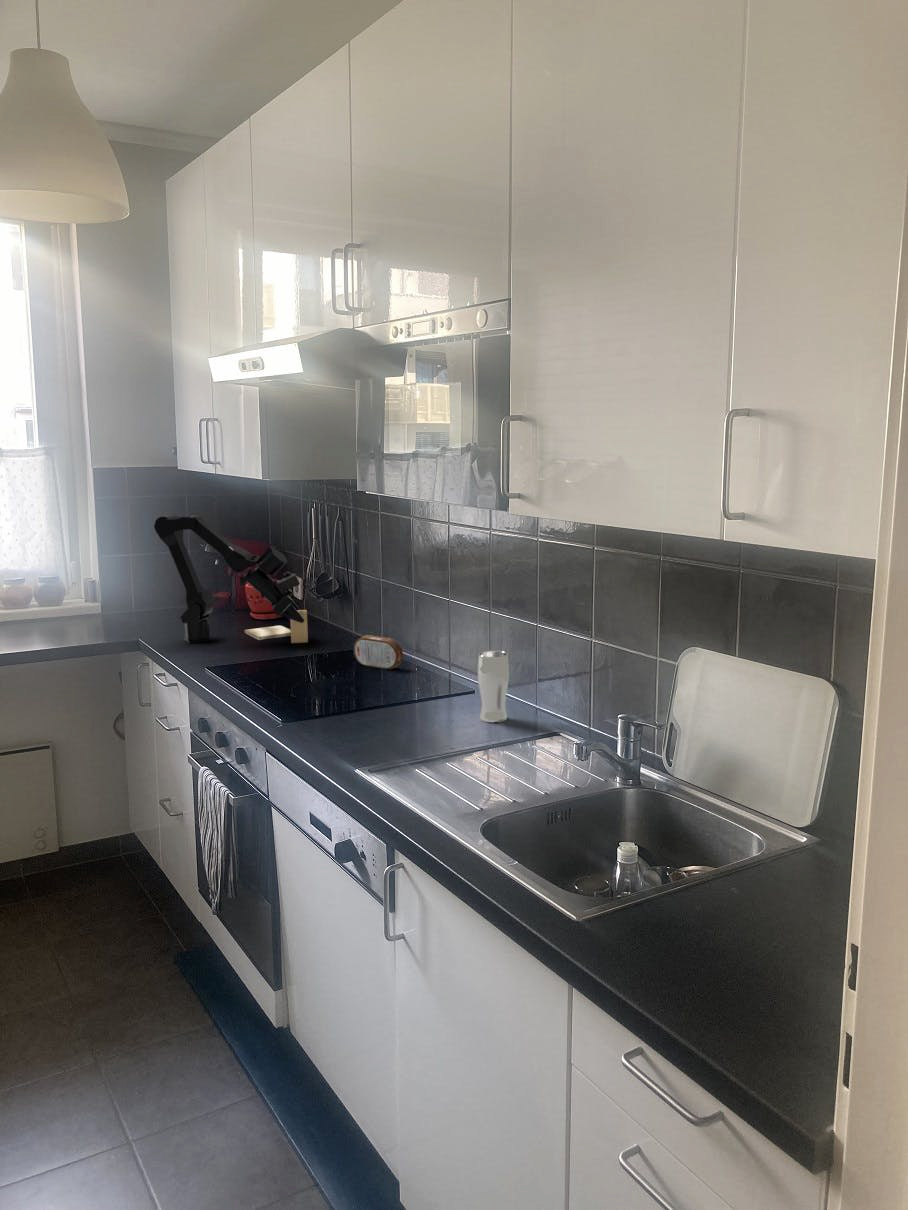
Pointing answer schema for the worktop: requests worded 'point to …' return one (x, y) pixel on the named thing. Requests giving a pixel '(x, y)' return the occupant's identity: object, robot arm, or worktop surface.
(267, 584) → the robot arm
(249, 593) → the plant pot
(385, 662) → the tin
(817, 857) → the worktop surface
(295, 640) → the ochre block
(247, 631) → the birch board
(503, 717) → the beer glass
